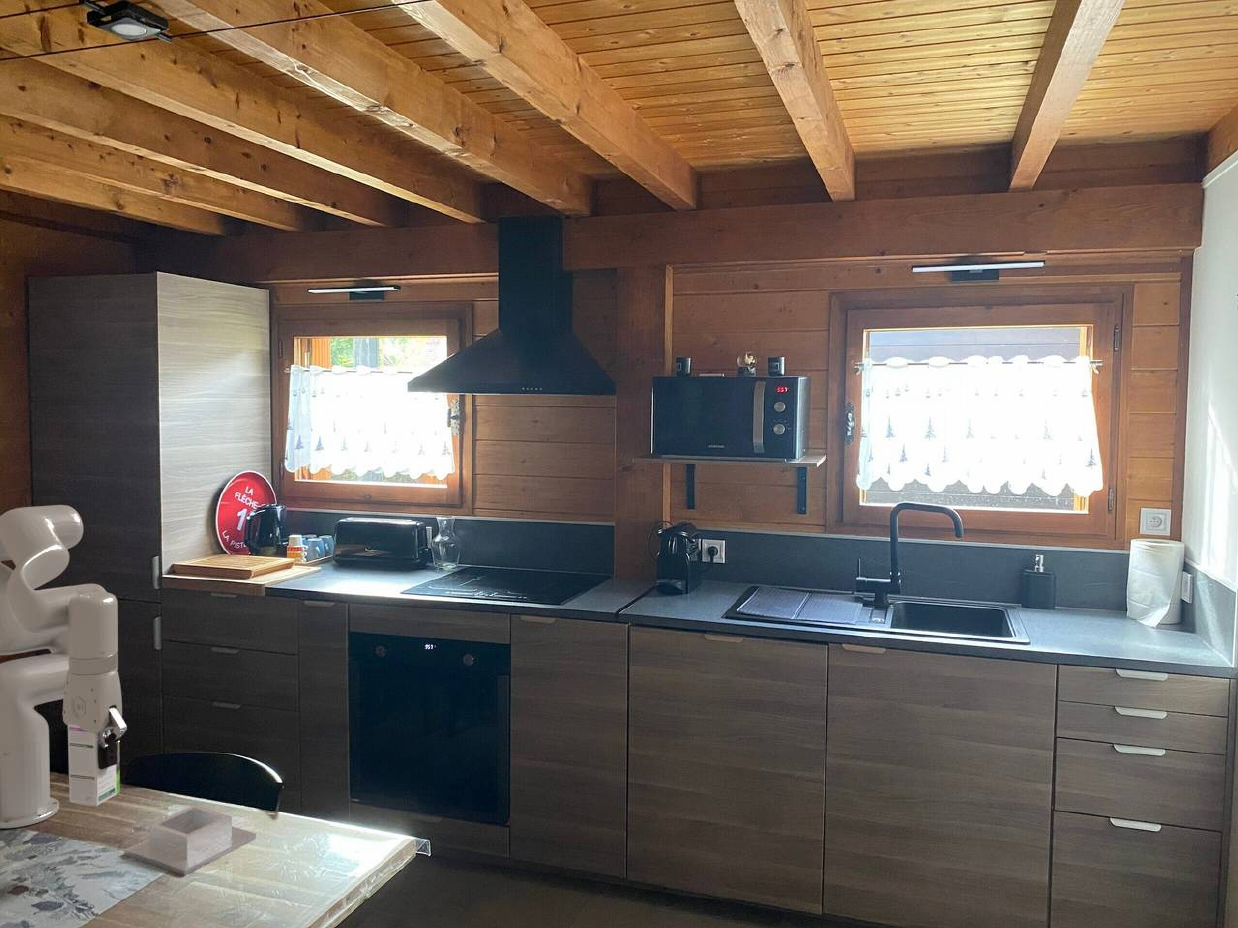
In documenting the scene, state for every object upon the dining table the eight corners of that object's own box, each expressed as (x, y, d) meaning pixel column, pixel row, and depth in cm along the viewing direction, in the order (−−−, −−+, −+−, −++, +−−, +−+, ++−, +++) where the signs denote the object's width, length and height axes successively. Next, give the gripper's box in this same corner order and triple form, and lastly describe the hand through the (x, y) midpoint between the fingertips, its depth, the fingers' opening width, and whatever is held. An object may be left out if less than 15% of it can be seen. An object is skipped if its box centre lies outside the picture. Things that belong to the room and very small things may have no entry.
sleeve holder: (124, 854, 172) (123, 828, 172) (197, 820, 187) (197, 796, 186) (184, 875, 165) (184, 848, 165) (255, 838, 180) (255, 813, 179)
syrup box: (96, 807, 163) (96, 726, 162) (67, 802, 164) (67, 722, 163) (120, 793, 168) (120, 715, 167) (92, 789, 169) (91, 711, 168)
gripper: (41, 660, 164) (42, 759, 166) (106, 677, 157) (106, 780, 158) (82, 650, 171) (82, 745, 173) (146, 666, 164) (146, 765, 165)
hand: (94, 761), depth 166 cm, fingers closed on syrup box, 6 cm apart
